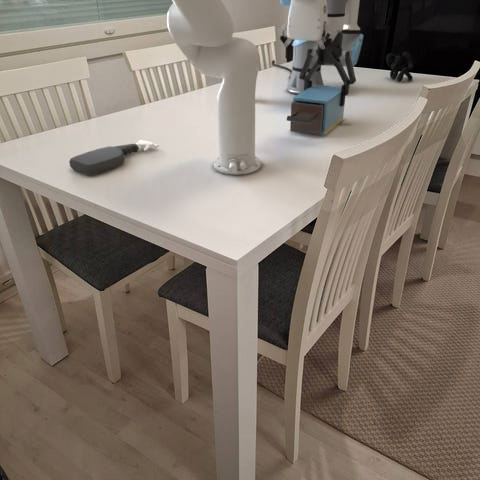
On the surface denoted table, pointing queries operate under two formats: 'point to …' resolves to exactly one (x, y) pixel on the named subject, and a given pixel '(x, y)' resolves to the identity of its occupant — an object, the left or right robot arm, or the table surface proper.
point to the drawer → (306, 117)
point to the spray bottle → (106, 157)
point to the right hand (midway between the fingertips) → (324, 103)
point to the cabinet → (325, 104)
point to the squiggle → (399, 66)
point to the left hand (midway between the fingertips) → (304, 62)
